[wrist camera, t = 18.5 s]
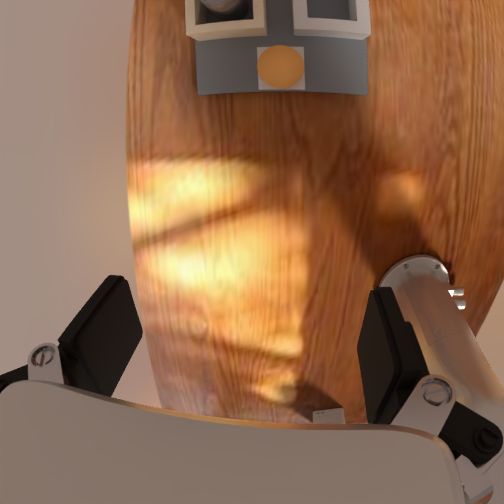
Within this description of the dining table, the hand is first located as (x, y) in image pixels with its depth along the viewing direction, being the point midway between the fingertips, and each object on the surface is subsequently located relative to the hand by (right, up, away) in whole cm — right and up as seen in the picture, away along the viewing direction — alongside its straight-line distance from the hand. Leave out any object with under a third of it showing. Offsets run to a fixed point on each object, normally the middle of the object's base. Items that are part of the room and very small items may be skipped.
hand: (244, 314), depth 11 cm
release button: (+4, +22, +19) cm, 30 cm away
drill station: (+4, +28, +18) cm, 34 cm away
